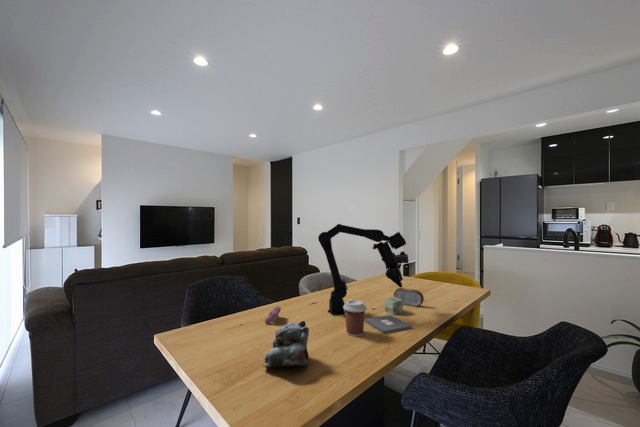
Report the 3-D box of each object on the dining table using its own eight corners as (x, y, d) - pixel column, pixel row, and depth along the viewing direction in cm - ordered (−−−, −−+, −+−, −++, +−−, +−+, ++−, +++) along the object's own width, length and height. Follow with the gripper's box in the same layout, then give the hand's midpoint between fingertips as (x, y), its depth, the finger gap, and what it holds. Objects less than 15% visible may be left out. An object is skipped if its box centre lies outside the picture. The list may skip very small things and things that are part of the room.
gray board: (383, 333, 107) (383, 330, 107) (364, 321, 120) (364, 318, 120) (411, 328, 113) (411, 325, 113) (390, 317, 125) (390, 314, 125)
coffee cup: (366, 338, 102) (366, 306, 103) (341, 336, 104) (341, 305, 104) (367, 329, 111) (366, 299, 111) (344, 327, 113) (344, 298, 113)
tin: (423, 306, 141) (423, 290, 141) (422, 308, 138) (422, 291, 138) (394, 302, 149) (394, 286, 149) (393, 303, 146) (393, 287, 146)
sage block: (392, 315, 128) (392, 302, 129) (385, 311, 134) (384, 298, 134) (403, 313, 131) (402, 300, 131) (394, 309, 136) (394, 297, 136)
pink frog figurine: (273, 328, 116) (280, 313, 116) (263, 323, 116) (270, 308, 116) (277, 319, 126) (283, 306, 126) (268, 315, 126) (275, 301, 126)
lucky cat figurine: (254, 367, 82) (261, 318, 89) (284, 369, 90) (288, 324, 97) (289, 368, 74) (294, 314, 81) (318, 370, 81) (320, 321, 88)
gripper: (402, 251, 119) (418, 284, 118) (402, 243, 137) (417, 271, 136) (378, 261, 122) (394, 293, 122) (382, 252, 140) (396, 279, 139)
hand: (401, 283), depth 130 cm, fingers open, 9 cm apart
